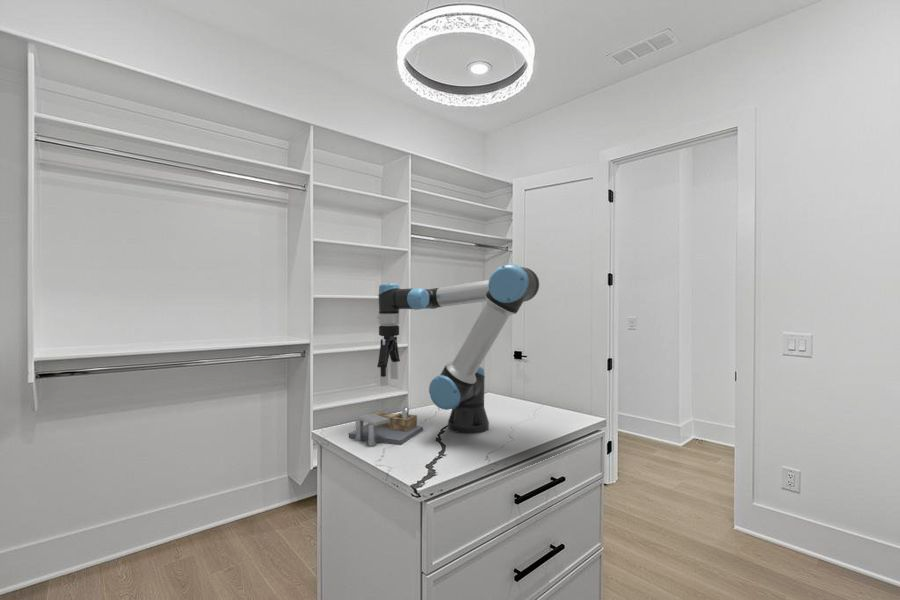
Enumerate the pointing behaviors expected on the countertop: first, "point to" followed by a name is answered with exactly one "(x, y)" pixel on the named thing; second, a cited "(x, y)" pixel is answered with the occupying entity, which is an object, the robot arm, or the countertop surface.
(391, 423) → the link
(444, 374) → the robot arm
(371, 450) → the countertop surface
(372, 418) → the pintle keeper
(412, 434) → the base plate
